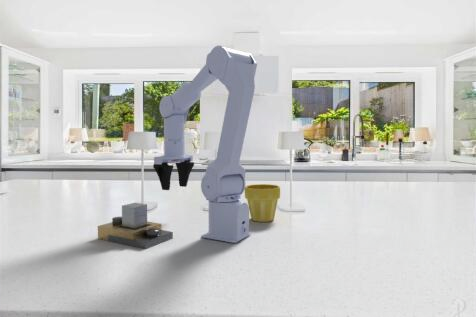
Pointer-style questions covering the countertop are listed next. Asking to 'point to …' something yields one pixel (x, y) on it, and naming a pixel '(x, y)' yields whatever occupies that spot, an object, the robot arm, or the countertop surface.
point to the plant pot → (262, 201)
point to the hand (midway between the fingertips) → (174, 188)
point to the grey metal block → (134, 216)
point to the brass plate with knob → (133, 234)
